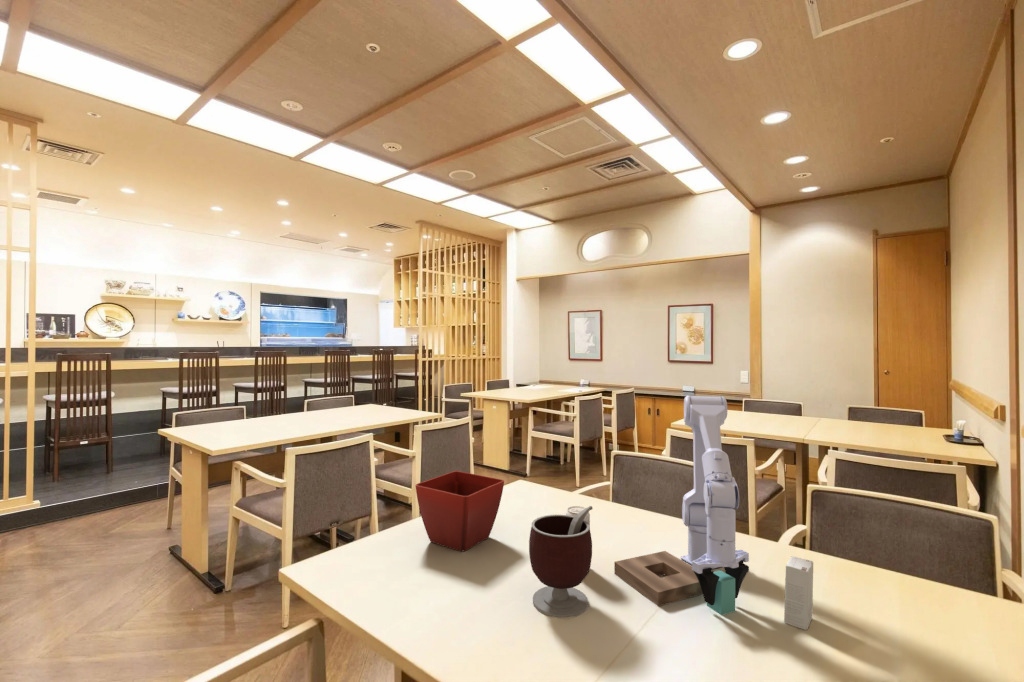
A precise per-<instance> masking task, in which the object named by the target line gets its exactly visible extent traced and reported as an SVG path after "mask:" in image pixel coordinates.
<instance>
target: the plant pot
mask: <svg viewBox="0 0 1024 682" xmlns="http://www.w3.org/2000/svg"><path fill="white" fill-rule="evenodd" d="M504 485H505V480H504V479H500V478H497V477H495V478H494V477H490V476H485V475H482V474H481V475H480V474H476V473H472V472H471V473H469V472H465V471H460V470H454V471H450V472H448V473H445V474H441V475H440V476H436V477H434V478H431V479H428V480H425V481H421V482H419V483H416V484H415V492H416V498H417V504H418V508H419V512H420V516H421V519H422V523H423V525H424V529H425V532H426V534H427V536H428V540H429V541H430V542H431V543H434V544H437V545H440V546H442V547H445V548H449V549H453V550H456V551H459V552H465V551H467V550H469V549H471V548H473V547H475V546H476V545H478V544H479V543H481V542H484V541H485V540H487V539H488V538H489V537H490V535H491V532H492V529H493V527H494V524H495V521H496V518H497V515H498V513H499V509H500V505H501V500H502V495H503V492H504V491H503V490H504Z"/></svg>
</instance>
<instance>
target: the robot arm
mask: <svg viewBox="0 0 1024 682" xmlns="http://www.w3.org/2000/svg"><path fill="white" fill-rule="evenodd" d="M727 417H728V402H727V398H725V397H724V396H723V395H720V396H706V395H705V396H702V395H700V396H699V395H688V394H687V395H686V396H685V397H684V399H683V422H684V425H685V426H687V427H689V428H691V431H692V440H693V441H692V447H693V448H692V451H693V452H692V453H693V454H692V455H693V456H692V457H693V458H692V459H693V461H692V462H693V488H692V489H691V490H689V491H688V492H686V493H685V494H684V495H683V496H682V505H681V517H682V522H683V525H684V526H685V527H688V528H687V537H688V538H687V542H688V543H687V550H688V551H687V554H686V555H683V556H680V560H682V561H684V562H685V563H687V564H689V565H691V566H692V570H693V571H694V573H695V575H696V576H697V578H698V581H699V583H700V586H701V589H702V593H703V594H702V596H703V600H704V602H705V603H706V604H707V603H708V604H710V605H714V602H715V591H716V586H717V582H718V580H719V578H720V577H719V576H717V575H715V574H714V573H713V572H714V571H713V570H714V569H717V568H724V573H726V574H728V575H730V576H732V577H734V578H735V599H738V596H739V594H740V590H741V586H742V584H743V581H744V579H745V577H746V575H747V574H748V573H749V571H750V567H749V565H747V564H745V563H748V562H750V560H749V559H750V557H749V556H750V555H749V552H747V551H745V550H744V549H737V550H736V510H738V509H739V505H740V491H739V487H738V484H737V481H736V480H735V477H734V476H733V474H732V470H731V469H732V468H731V464H730V459H729V455H728V454H727V452H725V451H723V448H722V447H723V446H722V436H721V435H722V434H721V427H722V426H723V425H724V424H725V421H726V419H727Z"/></svg>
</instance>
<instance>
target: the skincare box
mask: <svg viewBox="0 0 1024 682" xmlns="http://www.w3.org/2000/svg"><path fill="white" fill-rule="evenodd" d="M784 580H785V581H784V615H783V617H784V619H783V621H784V623H785V624H788V625H790V626H793V627H795V628H799V629H801V630H804V631H805V630H806V631H808V629H809V626H810V624H811V621H812V619H813V609H814V608H813V604H814V603H813V600H814V599H813V598H814V597H813V596H814V595H813V594H814V593H813V592H814V591H813V589H814V561H813V560H810V559H805V558H802V557H797V556H790V558H789V559H788V561H787V563H786V565H785V579H784Z"/></svg>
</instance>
